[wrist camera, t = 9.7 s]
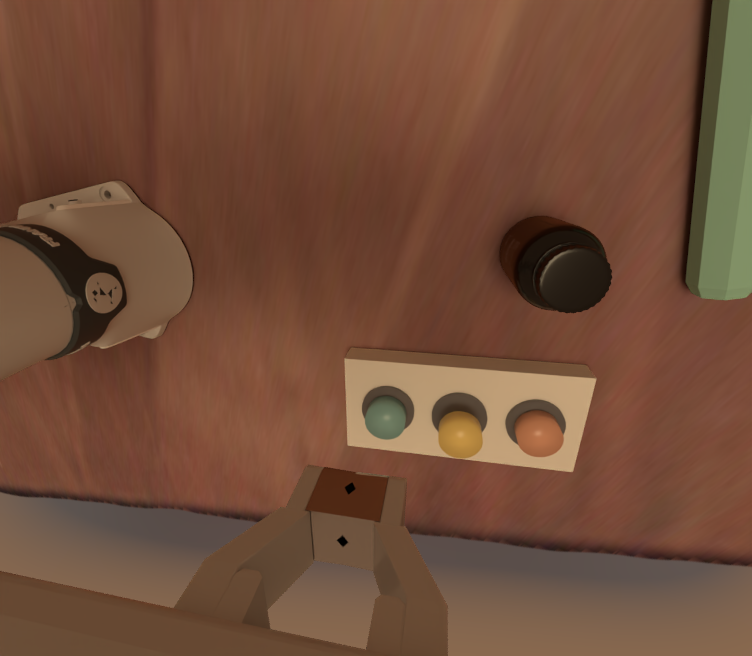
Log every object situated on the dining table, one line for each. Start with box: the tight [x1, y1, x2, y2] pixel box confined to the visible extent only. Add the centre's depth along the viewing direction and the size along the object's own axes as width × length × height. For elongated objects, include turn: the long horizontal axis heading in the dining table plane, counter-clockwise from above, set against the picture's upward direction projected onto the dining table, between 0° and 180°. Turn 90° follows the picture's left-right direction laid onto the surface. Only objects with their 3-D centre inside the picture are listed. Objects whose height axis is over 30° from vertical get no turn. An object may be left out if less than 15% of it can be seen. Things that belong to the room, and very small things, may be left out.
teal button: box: [365, 396, 407, 440], centre depth 41 cm, size 4×4×2 cm
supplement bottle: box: [500, 216, 612, 313], centre depth 31 cm, size 7×7×12 cm
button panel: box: [345, 347, 596, 472], centre depth 43 cm, size 26×12×4 cm, turn 90°
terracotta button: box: [514, 410, 564, 457], centre depth 39 cm, size 4×4×2 cm
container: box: [685, 0, 752, 300], centre depth 29 cm, size 6×6×25 cm
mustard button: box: [438, 411, 483, 458], centre depth 38 cm, size 4×4×2 cm
